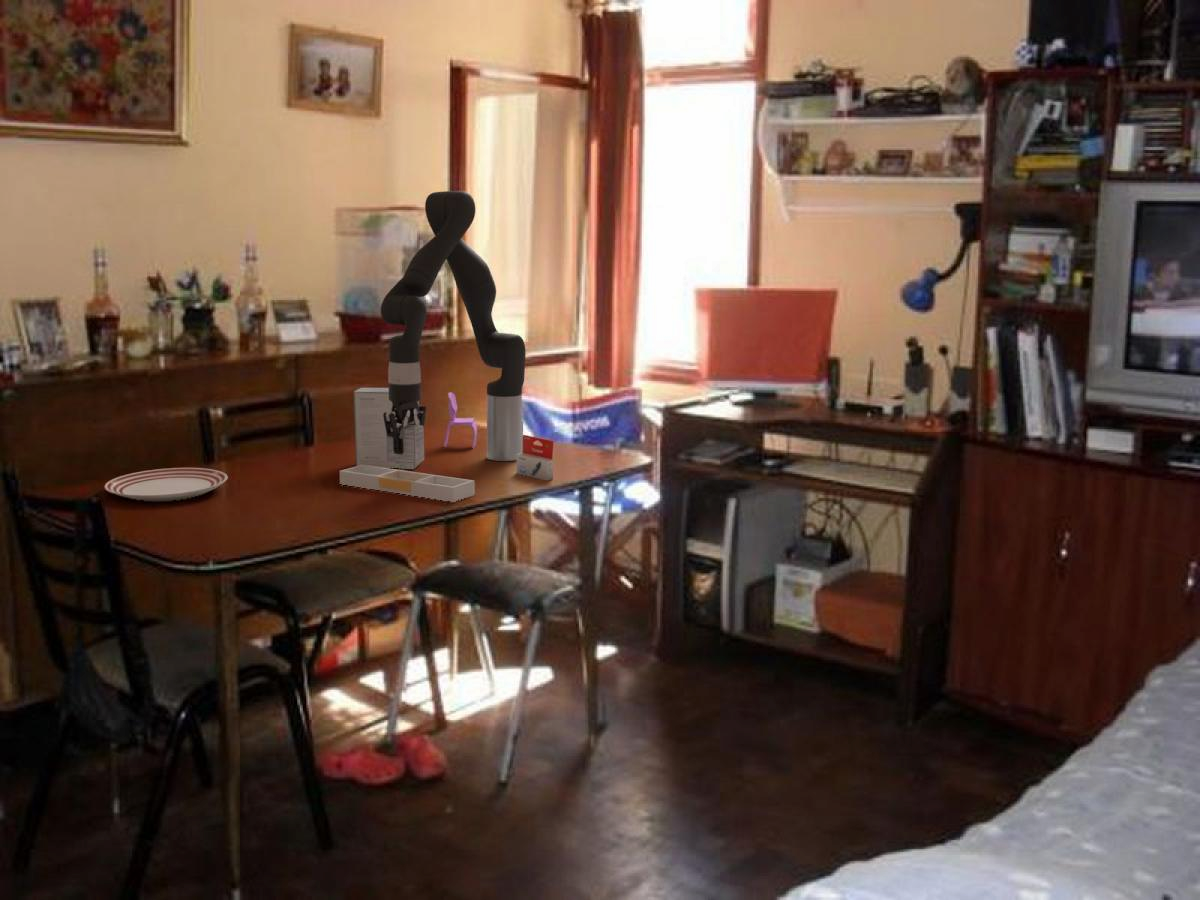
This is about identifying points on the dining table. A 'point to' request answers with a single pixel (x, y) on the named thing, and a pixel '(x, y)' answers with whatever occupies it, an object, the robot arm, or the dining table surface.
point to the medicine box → (408, 445)
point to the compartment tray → (408, 483)
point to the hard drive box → (373, 428)
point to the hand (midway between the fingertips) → (405, 451)
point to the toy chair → (458, 419)
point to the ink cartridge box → (536, 458)
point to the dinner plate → (166, 484)
